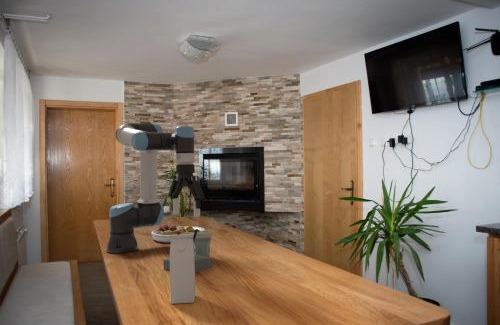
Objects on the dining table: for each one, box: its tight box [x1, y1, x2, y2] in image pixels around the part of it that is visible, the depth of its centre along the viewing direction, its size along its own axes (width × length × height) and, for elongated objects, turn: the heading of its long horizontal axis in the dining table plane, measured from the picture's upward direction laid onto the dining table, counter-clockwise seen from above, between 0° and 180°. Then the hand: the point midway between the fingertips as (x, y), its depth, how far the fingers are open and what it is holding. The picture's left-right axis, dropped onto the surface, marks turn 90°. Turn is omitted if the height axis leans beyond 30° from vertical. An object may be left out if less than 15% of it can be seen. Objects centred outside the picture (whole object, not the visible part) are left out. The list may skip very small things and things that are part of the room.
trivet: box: [162, 254, 213, 273], centre depth 159 cm, size 14×14×4 cm
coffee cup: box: [193, 230, 212, 257], centre depth 174 cm, size 8×9×12 cm
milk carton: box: [169, 239, 196, 305], centre depth 122 cm, size 7×7×19 cm
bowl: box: [151, 223, 206, 244], centre depth 223 cm, size 30×30×8 cm
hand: (186, 215), depth 159 cm, fingers open, 13 cm apart
